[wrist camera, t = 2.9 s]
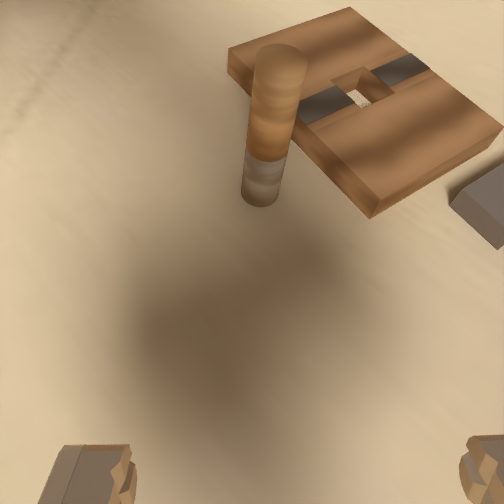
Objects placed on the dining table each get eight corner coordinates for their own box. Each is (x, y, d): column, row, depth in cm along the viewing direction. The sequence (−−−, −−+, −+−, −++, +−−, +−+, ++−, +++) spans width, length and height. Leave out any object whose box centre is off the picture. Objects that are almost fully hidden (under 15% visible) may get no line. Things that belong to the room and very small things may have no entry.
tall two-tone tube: (233, 187, 41) (245, 52, 29) (263, 172, 42) (286, 38, 30) (255, 212, 39) (276, 83, 27) (285, 196, 41) (318, 66, 29)
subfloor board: (227, 72, 49) (228, 47, 46) (343, 29, 56) (350, 5, 53) (369, 219, 40) (381, 198, 37) (487, 147, 47) (504, 126, 44)
